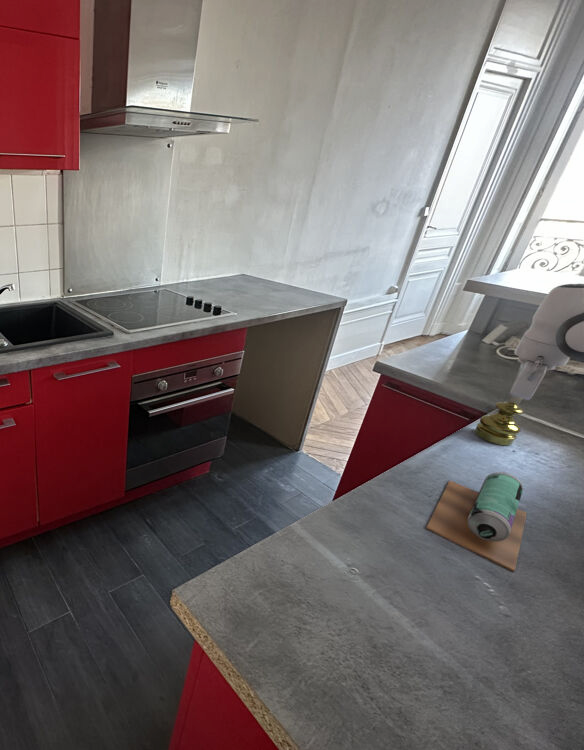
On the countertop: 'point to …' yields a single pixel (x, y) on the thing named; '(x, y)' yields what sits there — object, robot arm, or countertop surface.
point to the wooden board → (454, 527)
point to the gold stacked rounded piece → (500, 424)
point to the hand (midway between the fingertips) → (513, 402)
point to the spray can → (495, 507)
